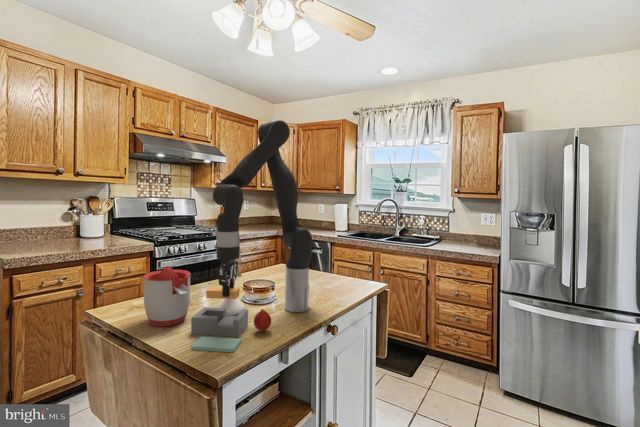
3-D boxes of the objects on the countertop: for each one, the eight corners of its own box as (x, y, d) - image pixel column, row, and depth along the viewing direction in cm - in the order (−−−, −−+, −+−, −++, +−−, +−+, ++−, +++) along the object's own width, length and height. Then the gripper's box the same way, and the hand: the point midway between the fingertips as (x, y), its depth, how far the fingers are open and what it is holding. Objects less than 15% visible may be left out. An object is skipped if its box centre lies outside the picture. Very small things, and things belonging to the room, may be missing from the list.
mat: (241, 342, 107) (241, 338, 106) (234, 352, 100) (234, 349, 100) (201, 339, 108) (201, 336, 108) (191, 349, 101) (191, 346, 101)
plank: (239, 295, 117) (239, 288, 116) (235, 299, 113) (235, 291, 112) (211, 294, 117) (211, 287, 117) (206, 297, 113) (206, 290, 113)
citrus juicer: (163, 334, 110) (163, 274, 109) (133, 322, 119) (133, 266, 118) (203, 320, 123) (203, 265, 122) (173, 310, 133) (173, 259, 131)
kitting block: (247, 324, 120) (248, 309, 120) (238, 336, 110) (239, 320, 110) (204, 322, 121) (204, 307, 121) (191, 333, 111) (191, 317, 111)
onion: (254, 328, 117) (255, 305, 117) (271, 328, 118) (271, 305, 117) (252, 335, 111) (253, 311, 111) (270, 335, 112) (270, 311, 111)
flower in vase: (210, 311, 132) (210, 248, 131) (237, 305, 140) (238, 245, 138) (224, 321, 122) (225, 253, 121) (252, 315, 130) (253, 250, 128)
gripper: (232, 248, 106) (232, 302, 107) (245, 241, 120) (245, 288, 122) (208, 247, 107) (209, 301, 108) (224, 240, 121) (225, 288, 122)
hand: (228, 294), depth 115 cm, fingers closed on plank, 4 cm apart
